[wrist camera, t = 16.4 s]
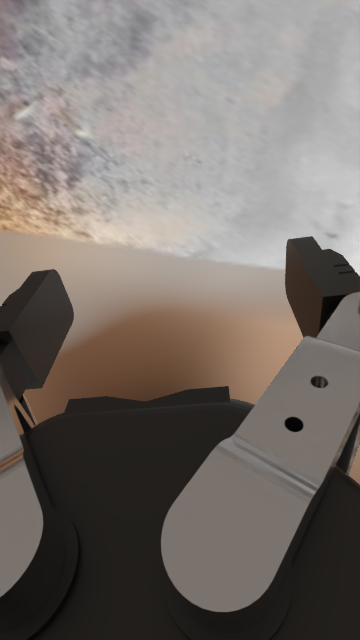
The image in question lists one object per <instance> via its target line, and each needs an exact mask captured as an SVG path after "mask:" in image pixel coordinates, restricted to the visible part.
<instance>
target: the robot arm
mask: <svg viewBox="0 0 360 640" xmlns="http://www.w3.org/2000/svg"><path fill="white" fill-rule="evenodd" d="M285 287H286V295H287V298H288V301H289V303H290V306H291V308H292V311H293V313H294V316H295V318H296V320H297V323H298V325H299V327H300V330H301V332H302V335H303V337H304V338H303V340H302V341H301V342H300V344H299V345H298V346H297V348H296V349H295V351H294V352H293V353H292V355H291V356H290V357H289V359H288V360H287V362H286V363H285V364H284V366H283V367H282V369H281V370H280V371H279V373H278V374H277V375H276V377H275V378H274V380H273V381H272V382H271V384H270V385H269V386H268V388H267V390H266V391H265V392H264V394H263V395H262V396H261V398H260V399H259V400H258V402H257V403H256V404H255V405H254V404H251V403H248V402H244V401H240V400H235V399H230V396H229V388H228V386H226V387H213V388H201V389H189V390H185V391H181V392H178V393H174V394H171V395H167V396H164V397H160V398H157V399H153V400H150V401H136V400H129V399H121V398H115V397H107V396H105V397H93V398H81V399H70V400H69V401H68V404H67V407H66V409H65V412H64V413H61V414H58V415H56V416H53V417H51V418H49V419H47V420H45V421H43V422H41V423H40V424H37V422H36V420H35V417H34V415H33V413H32V410H31V408H30V406H29V404H28V402H27V400H26V399H25V397H24V395H23V393H24V391H25V390H26V389H37V388H42V387H43V384H44V382H45V380H46V378H47V376H48V374H49V372H50V370H51V368H52V365H53V363H54V361H55V359H56V357H57V355H58V353H59V350H60V348H61V346H62V344H63V342H64V340H65V338H66V335H67V333H68V331H69V329H70V327H71V325H72V323H73V318H74V312H73V308H72V304H71V302H70V299H69V297H68V295H67V292H66V290H65V287H64V285H63V283H62V280H61V278H60V275H59V274H58V272H57V271H56V270H54V269H52V270H44V271H36V272H32V273H31V274H30V276H29V277H28V278H27V279H26V281H25V282H24V283H23V284H22V286H21V287H20V288H19V289H18V290H16V291H15V292H14V293H12V294H11V295H9V297H8V298H7V299H6V300H5V301H4V303H3V304H2V306H1V307H0V640H360V485H359V484H358V483H357V482H356V481H355V480H353V479H352V478H351V477H350V476H349V473H350V471H351V468H352V465H353V462H354V460H355V457H356V454H357V451H358V448H359V445H360V276H359V275H358V274H357V273H356V272H355V270H354V269H353V268H352V266H351V265H349V263H348V262H347V260H346V259H345V258H344V257H343V255H341V254H339V253H337V252H335V251H333V250H331V249H326V250H322V249H321V248H320V246H319V245H318V243H317V242H316V241H315V239H314V238H313V237H312V236H311V237H303V238H295V239H288V241H287V246H286V273H285Z"/></svg>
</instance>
